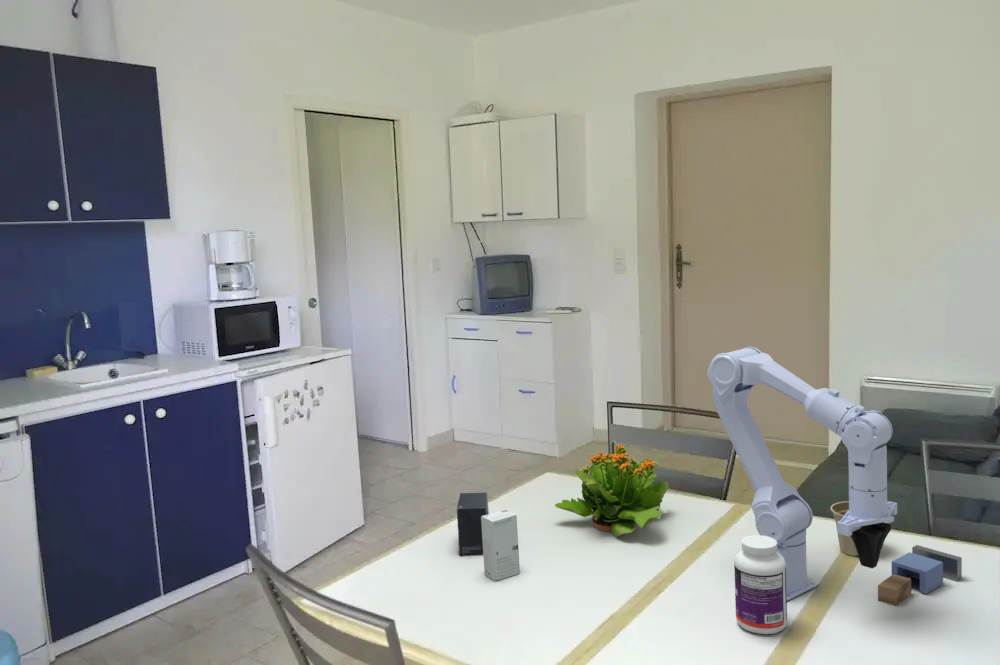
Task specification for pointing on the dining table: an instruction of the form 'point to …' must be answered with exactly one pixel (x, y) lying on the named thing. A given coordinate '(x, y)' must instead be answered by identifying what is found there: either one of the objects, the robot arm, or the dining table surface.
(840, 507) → the flower pot
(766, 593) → the pill bottle
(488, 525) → the skincare box
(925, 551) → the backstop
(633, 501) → the potted flower
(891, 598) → the walnut peg
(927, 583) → the socket block
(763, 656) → the dining table surface
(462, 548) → the small box
